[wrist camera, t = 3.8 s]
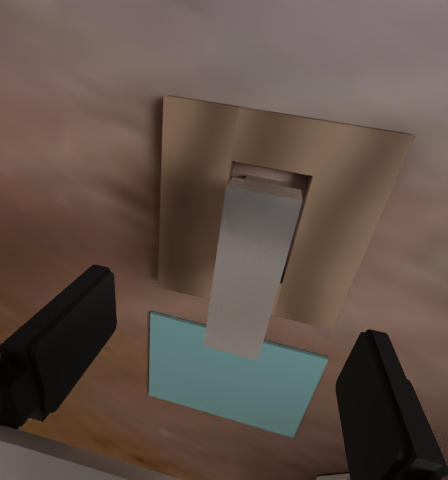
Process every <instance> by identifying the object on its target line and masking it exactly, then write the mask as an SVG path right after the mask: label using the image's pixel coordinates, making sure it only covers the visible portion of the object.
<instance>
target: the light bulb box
mask: <svg viewBox="0 0 448 480" xmlns="http://www.w3.org/2000/svg"><path fill="white" fill-rule="evenodd" d="M316 480H350V474H349V473H347V474H336V475H327V476H317V477H316Z"/></svg>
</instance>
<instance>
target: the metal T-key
mask: <svg viewBox="0 0 448 480" xmlns="http://www.w3.org/2000/svg"><path fill="white" fill-rule="evenodd" d="M302 201H303V200H302V192H301V190H300V189H294V188H292V183H286V182H281V181H276V180H271V179H265V178H260V177H255V176H249V175H247V176H246V178H245V179H242V178H237V177H232V179H231V180H230V182H229V183H228V184H227V186H226V191H225V198H224V205H223V212H222V219H221V226H220V233H219V240H218V247H217V254H216V261H215V268H214V275H213V282H212V289H211V296H210V303H209V310H208V318H207V325H206V332H205V339H204V346H205V347H209V348H213V349H217V350H220V351H224V352H228V353H232V354H235V355H239V356H243V357H247V358H250V359H254V360H258V359H259V355H260V352H261V348H262V344H263V341H264V337H265V334H266V330H267V326H268V323H269V319H270V316H271V312H272V309H273V305H274V301H275V298H276V294H277V291H278V287H279V284H280V280H281V276H282V273H283V269H284V266H285V262H286V258H287V255H288V251H289V248H290V244H291V241H292V237H293V233H294V230H295V226H296V223H297V219H298V216H299V212H300V208H301V205H302Z"/></svg>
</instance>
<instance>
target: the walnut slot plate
mask: <svg viewBox="0 0 448 480" xmlns="http://www.w3.org/2000/svg"><path fill="white" fill-rule="evenodd" d="M414 138H415V136H414V135H411V134H408V133H402V132H395V131H389V130H383V129H377V128H370V127H364V126H358V125H352V124H345V123H339V122H333V121H327V120H320V119H314V118H308V117H302V116H295V115H289V114H283V113H277V112H270V111H264V110H258V109H252V108H245V107H239V106H233V105H227V104H220V103H214V102H208V101H202V100H195V99H189V98H183V97H177V96H165V95H163V127H162V160H161V192H160V225H159V257H158V287H161V288H165V289H169V290H173V291H177V292H181V293H185V294H189V295H193V296H197V297H201V298H205V299H209V300H210V296H211V289H212V282H213V275H214V268H215V261H216V254H217V247H218V240H219V233H220V226H221V219H222V212H223V205H224V198H225V191H226V186H227V184H228V183H229V182H230V180H231V177H232V170H233V163H234V162H240V163H245V164H251V165H256V166H262V167H267V168H272V169H278V170H283V171H289V172H294V173H300V174H305V175H310V180H309V183H308V187H307V190H306V194H305V197H304V201H303V204H302V208H301V212H300V215H299V219H298V222H297V226H296V229H295V233H294V237H293V240H292V244H291V247H290V251H289V254H288V258H287V261H286V265H285V269H284V272H283V275H282V276H281V280H280V284H279V287H278V291H277V294H276V298H275V301H274V305H273V309H272V312H271V315H274V316H278V317H282V318H286V319H290V320H294V321H298V322H302V323H306V324H310V325H314V326H318V327H322V328H327V329H331V330H333V328H334V325H335V323H336V321H337V318H338V316H339V314H340V311H341V309H342V307H343V304H344V302H345V300H346V297H347V295H348V293H349V290H350V288H351V286H352V283H353V281H354V279H355V276H356V274H357V272H358V269H359V267H360V265H361V262H362V260H363V258H364V255H365V253H366V251H367V248H368V246H369V244H370V241H371V239H372V236H373V234H374V232H375V229H376V227H377V225H378V222H379V220H380V218H381V215H382V213H383V211H384V208H385V206H386V204H387V201H388V199H389V197H390V194H391V192H392V190H393V187H394V185H395V183H396V180H397V178H398V176H399V173H400V171H401V169H402V166H403V164H404V162H405V159H406V157H407V155H408V152H409V150H410V148H411V145H412V143H413V141H414Z"/></svg>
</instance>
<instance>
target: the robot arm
mask: <svg viewBox="0 0 448 480" xmlns="http://www.w3.org/2000/svg"><path fill="white" fill-rule="evenodd" d="M116 325H117V318H116V302H115V285H114V274H113V273H112V272H111V271H110V269H109V268H108V267H103V266H99V265H92V266H91V267H90V268H89V269H87V270H86V271H85V272H84V273H83V274H82V275H80V276H79V277H78V278H77V279H76V280H75V281H74V282H72V283H71V284H70V285H69V286H68V287H67V288H65V289H64V290H63V291H62V292H61V293H60V294H59V295H57V296H56V297H55V298H54V299H53V300H52V301H50V302H49V303H48V304H47V305H46V306H45V307H44V308H42V309H41V310H40V311H39V312H38V313H37V314H35V315H34V316H33V317H32V318H31V319H30V320H28V321H27V322H26V323H25V324H24V325H23V326H22V327H20V328H19V329H18V330H17V331H16V332H15V333H13V334H12V335H11V336H10V337H9V338H8V339H7V340H5V341H4V343H2V344H1V345H0V480H180V479H177V478H174V477H171V476H168V475H164V474H161V473H158V472H155V471H152V470H149V469H145V468H142V467H139V466H136V465H133V464H129V463H126V462H123V461H120V460H117V459H113V458H110V457H107V456H104V455H100V454H97V453H94V452H91V451H87V450H84V449H81V448H78V447H75V446H71V445H68V444H65V443H62V442H58V441H55V440H52V439H48V438H45V437H41V436H38V435H34V434H31V433H27V432H24V431H22V425H23V424H24V423H25V422H26V421H27V419H28V418H33V419H36V420H39V421H42V422H43V421H44V420H45V419H46V417H47V416H48V415H49V413H50V412H51V413H53V412H55V411H56V410H57V409H58V408H59V406H60V405H61V404H62V402H63V401H64V399H65V398H66V397H67V395H68V394H69V393H70V391H71V390H72V389H73V387H74V386H75V385H76V383H77V382H78V380H79V379H80V378H81V376H82V375H83V374H84V372H85V371H86V370H87V368H88V367H89V365H90V364H91V363H92V361H93V360H94V359H95V357H96V356H97V355H98V353H99V352H100V350H101V349H102V348H103V346H104V345H105V344H106V342H107V341H108V340H109V338H110V337H111V336H112V334H113V333H114V331H115V329H116ZM336 395H337V401H338V407H339V413H340V420H341V426H342V432H343V438H344V444H345V450H346V456H347V462H348V468H349V474H350V480H448V467H447V465H446V462H445V460H444V458H443V455H442V453H441V451H440V448H439V446H438V444H437V441H436V439H435V437H434V434H433V432H432V430H431V427H430V425H429V423H428V421H427V418H426V416H425V414H424V411H423V409H422V407H421V404H420V402H419V400H418V397H417V395H416V393H415V390H414V388H413V386H412V384H411V383H410V381H409V380H408V379H406V376H405V374H404V372H403V369H402V367H401V364H400V362H399V360H398V357H397V355H396V353H395V350H394V348H393V345H392V343H391V341H390V338H389V336H388V335H387V334H386V333H383V332H379V331H375V330H370V329H368V330H367V331H366V332H361V333H360V335H359V337H358V339H357V341H356V343H355V345H354V347H353V349H352V351H351V353H350V355H349V357H348V359H347V361H346V363H345V365H344V367H343V369H342V371H341V373H340V375H339V377H338V379H337V382H336Z"/></svg>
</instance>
